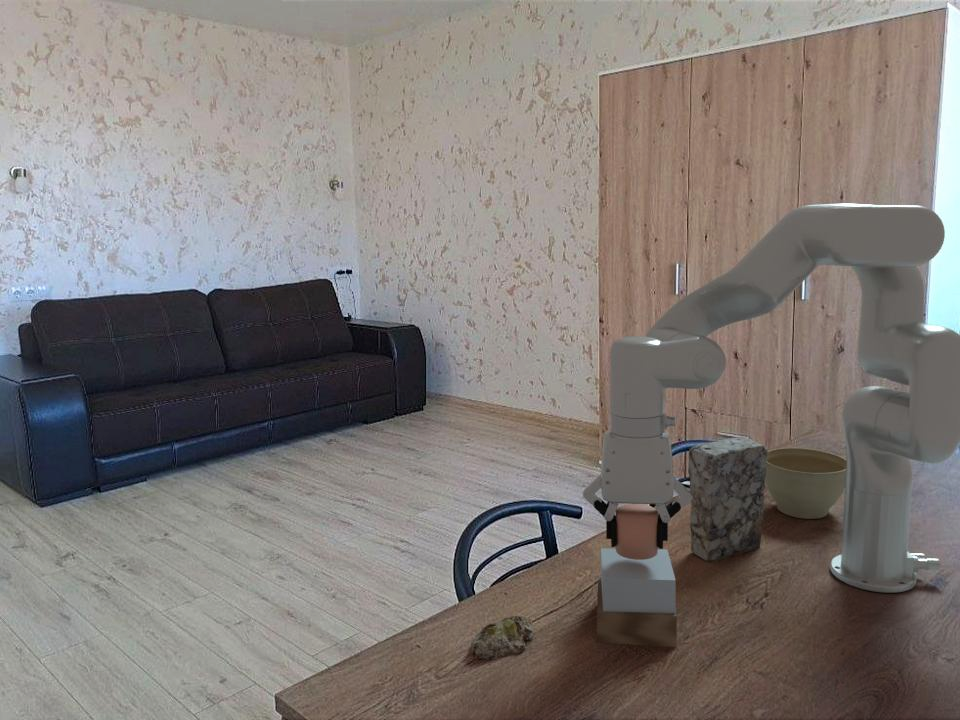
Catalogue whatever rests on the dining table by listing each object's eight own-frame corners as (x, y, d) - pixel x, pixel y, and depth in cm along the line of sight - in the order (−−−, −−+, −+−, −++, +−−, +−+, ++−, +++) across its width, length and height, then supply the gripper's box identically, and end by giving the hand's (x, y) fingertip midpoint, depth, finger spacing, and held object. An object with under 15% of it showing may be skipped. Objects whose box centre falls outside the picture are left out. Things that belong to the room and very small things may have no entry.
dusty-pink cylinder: (656, 542, 113) (656, 504, 112) (659, 560, 107) (659, 520, 106) (615, 541, 114) (615, 503, 113) (615, 558, 108) (615, 519, 107)
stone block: (714, 567, 130) (717, 455, 126) (684, 552, 136) (686, 445, 132) (767, 548, 136) (770, 441, 133) (736, 535, 142) (739, 432, 139)
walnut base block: (670, 609, 117) (670, 579, 116) (676, 649, 106) (676, 616, 105) (598, 606, 119) (598, 576, 118) (597, 644, 108) (596, 612, 107)
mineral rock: (503, 605, 115) (540, 609, 109) (510, 633, 115) (548, 638, 109) (451, 635, 108) (488, 641, 102) (458, 665, 108) (496, 673, 102)
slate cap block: (667, 580, 116) (667, 549, 115) (675, 613, 106) (675, 580, 105) (601, 578, 117) (600, 548, 116) (603, 611, 107) (602, 578, 107)
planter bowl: (812, 533, 142) (815, 478, 140) (743, 507, 155) (744, 456, 153) (864, 514, 150) (868, 462, 148) (794, 491, 163) (796, 442, 161)
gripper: (696, 418, 109) (694, 535, 112) (576, 417, 112) (577, 531, 115) (703, 432, 102) (700, 557, 105) (574, 431, 105) (576, 553, 108)
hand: (636, 543), depth 110 cm, fingers closed on dusty-pink cylinder, 6 cm apart
